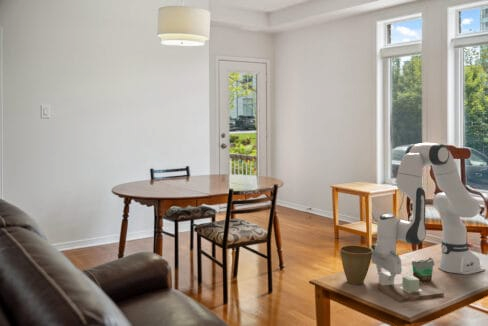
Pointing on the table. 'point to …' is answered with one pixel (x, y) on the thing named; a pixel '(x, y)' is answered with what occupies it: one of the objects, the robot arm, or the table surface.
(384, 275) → the cream block
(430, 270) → the food container
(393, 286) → the board
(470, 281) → the table surface
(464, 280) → the table surface
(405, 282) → the sage green block
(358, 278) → the plant pot
